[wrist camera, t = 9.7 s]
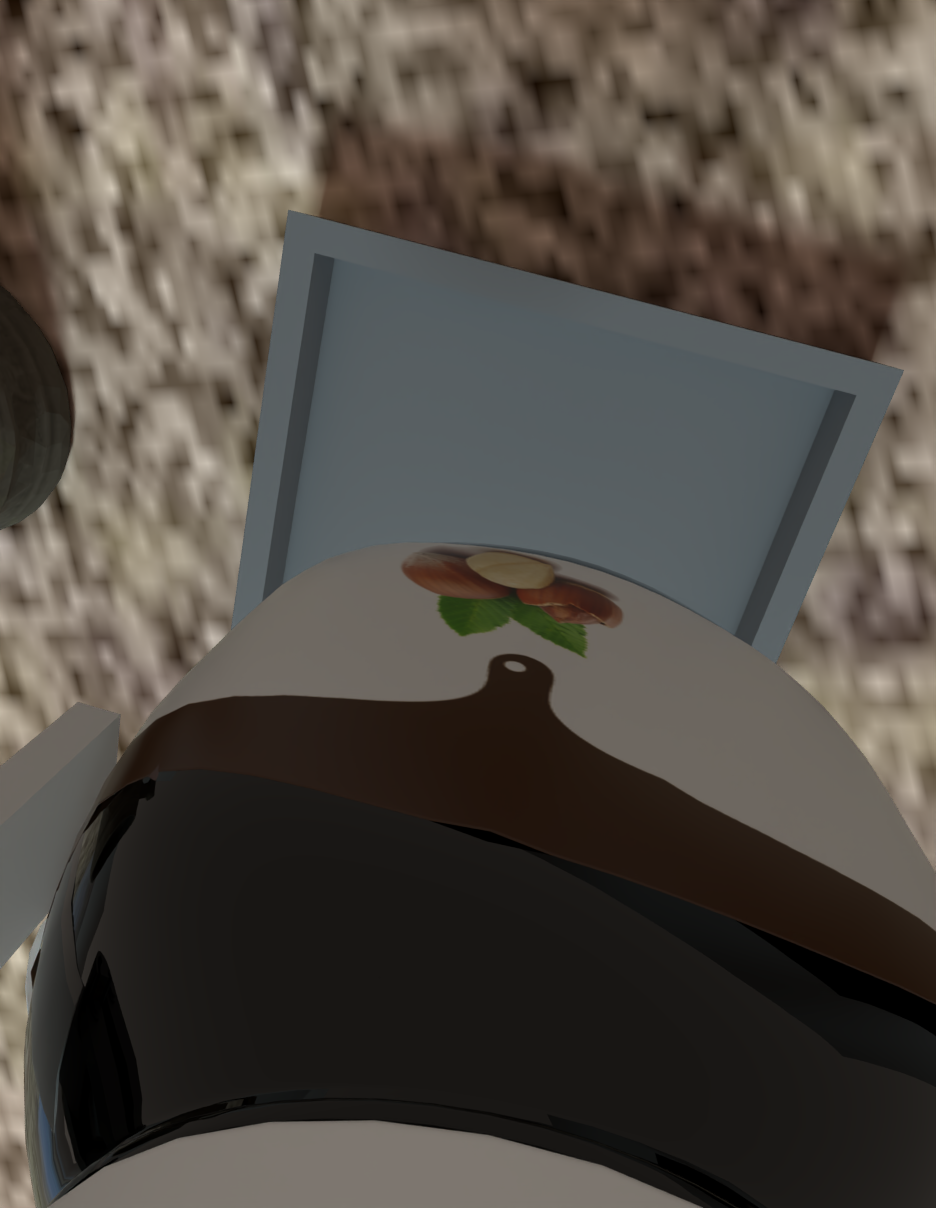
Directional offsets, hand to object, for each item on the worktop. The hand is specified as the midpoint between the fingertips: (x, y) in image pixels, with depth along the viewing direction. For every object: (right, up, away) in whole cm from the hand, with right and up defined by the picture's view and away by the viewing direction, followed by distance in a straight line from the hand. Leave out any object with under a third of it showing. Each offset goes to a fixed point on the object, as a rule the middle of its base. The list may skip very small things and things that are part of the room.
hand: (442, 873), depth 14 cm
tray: (+2, +7, +17) cm, 18 cm away
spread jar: (0, +1, +2) cm, 3 cm away
